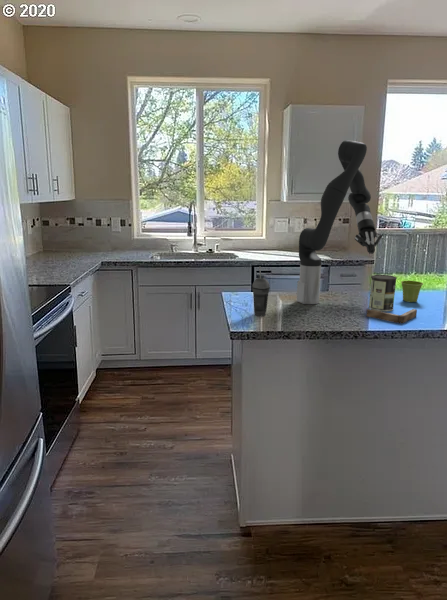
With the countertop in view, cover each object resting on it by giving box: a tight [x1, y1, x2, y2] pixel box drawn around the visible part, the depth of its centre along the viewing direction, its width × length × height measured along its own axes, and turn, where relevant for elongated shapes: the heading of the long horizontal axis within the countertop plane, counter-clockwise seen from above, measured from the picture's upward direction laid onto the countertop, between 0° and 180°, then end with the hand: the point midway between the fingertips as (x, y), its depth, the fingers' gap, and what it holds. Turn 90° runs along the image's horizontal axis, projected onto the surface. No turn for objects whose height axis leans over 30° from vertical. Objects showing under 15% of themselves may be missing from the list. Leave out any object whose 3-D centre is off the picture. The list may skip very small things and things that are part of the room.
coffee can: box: [368, 274, 398, 312], centre depth 196 cm, size 10×10×14 cm
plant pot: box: [400, 280, 424, 303], centre depth 210 cm, size 9×9×9 cm
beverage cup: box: [251, 266, 270, 317], centre depth 184 cm, size 7×7×20 cm
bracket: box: [366, 308, 418, 325], centre depth 181 cm, size 11×21×3 cm, turn 92°
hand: (371, 252), depth 208 cm, fingers closed
